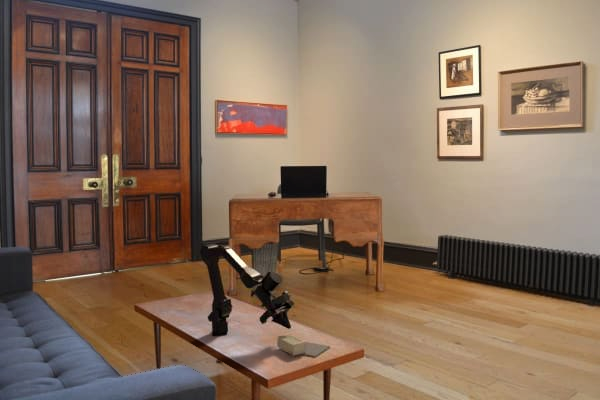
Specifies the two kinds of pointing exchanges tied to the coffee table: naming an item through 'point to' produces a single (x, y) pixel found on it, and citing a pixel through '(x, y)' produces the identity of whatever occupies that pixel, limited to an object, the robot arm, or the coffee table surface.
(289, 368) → the coffee table surface
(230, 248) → the robot arm
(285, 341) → the skincare box
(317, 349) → the mat
